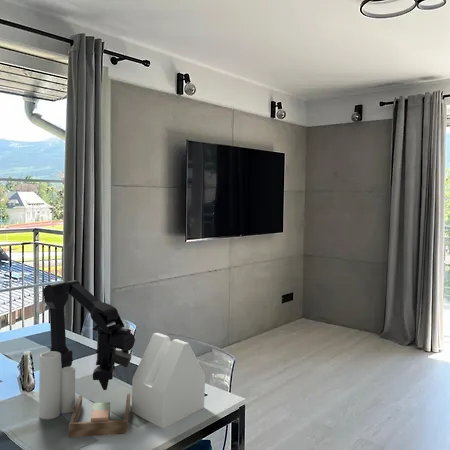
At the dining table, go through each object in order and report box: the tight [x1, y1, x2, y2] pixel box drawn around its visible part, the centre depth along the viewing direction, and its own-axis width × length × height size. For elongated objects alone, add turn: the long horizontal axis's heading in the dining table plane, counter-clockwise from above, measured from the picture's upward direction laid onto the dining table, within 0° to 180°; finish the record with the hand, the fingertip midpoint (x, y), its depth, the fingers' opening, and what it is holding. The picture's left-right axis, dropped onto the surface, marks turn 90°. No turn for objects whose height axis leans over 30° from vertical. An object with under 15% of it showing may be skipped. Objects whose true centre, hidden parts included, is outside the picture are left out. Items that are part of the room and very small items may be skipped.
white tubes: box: [38, 351, 76, 420], centre depth 146 cm, size 11×7×20 cm, turn 140°
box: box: [68, 393, 131, 438], centre depth 143 cm, size 17×19×4 cm
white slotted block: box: [131, 332, 206, 429], centre depth 150 cm, size 19×15×25 cm
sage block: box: [92, 401, 111, 421], centre depth 142 cm, size 5×5×5 cm
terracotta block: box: [90, 409, 110, 422], centre depth 137 cm, size 5×5×5 cm
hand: (105, 389), depth 151 cm, fingers closed
